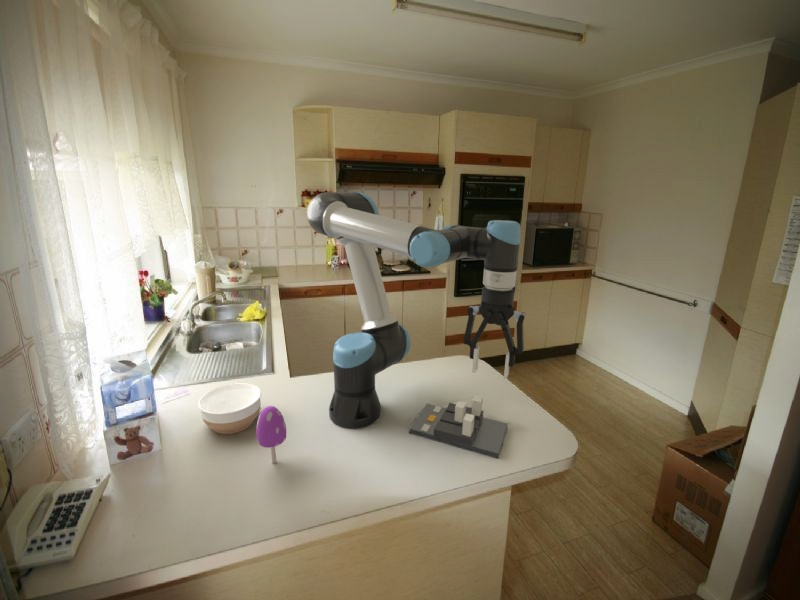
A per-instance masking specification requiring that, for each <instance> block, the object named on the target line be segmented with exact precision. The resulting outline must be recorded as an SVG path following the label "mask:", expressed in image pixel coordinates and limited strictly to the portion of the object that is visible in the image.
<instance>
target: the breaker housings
mask: <svg viewBox="0 0 800 600" xmlns="http://www.w3.org/2000/svg"><path fill="white" fill-rule="evenodd" d="M483 399H484V397H483V396H480V395H476V394H475V395H474V397H473V399H472V404H471V407H470V406H466V412H465V417H464V419H463V422H462V423H461V422H457V421H454V418H455V406H456V404H457V403H453V402H449V403H448V405H447V406H446V407H445V408H446V410H445V411H444V413H443V415H442V416H441V418H440V421H438V423H437V425H436V426H435V428H434V436H437V437H441V438H444V439H448V440H451V441H455V442H458V443H462V444H465V445H469V446H471V444H472V442H473V440H474V437H475V435H476V432H477V430H478V428H479V425H480V423H481V420H482V418H483V417H484V410H482V409H483V402H484V401H483Z"/></svg>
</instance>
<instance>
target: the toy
mask: <svg viewBox="0 0 800 600" xmlns="http://www.w3.org/2000/svg"><path fill="white" fill-rule="evenodd" d="M255 429H256V432H255V433H256V440H257V441H256V442H257V443H258V445H259V446H261V447H263V448H267V449H269V448H270V455H271V458H270V459H271V464H277V462H278V461H277V454H276V453H277V452H276V447H277V446H279V445H281V444H282V443H284V441H286V439H287V426H286V422H285V418H284V416H283V414H282V412H281V411H280V410H279V409H278V408H277V407H275V406H273V405H269V406H266V407H264V408H263V409H262V410H261V412H260V414H259V416H258V418H257V423H256V428H255Z"/></svg>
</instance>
